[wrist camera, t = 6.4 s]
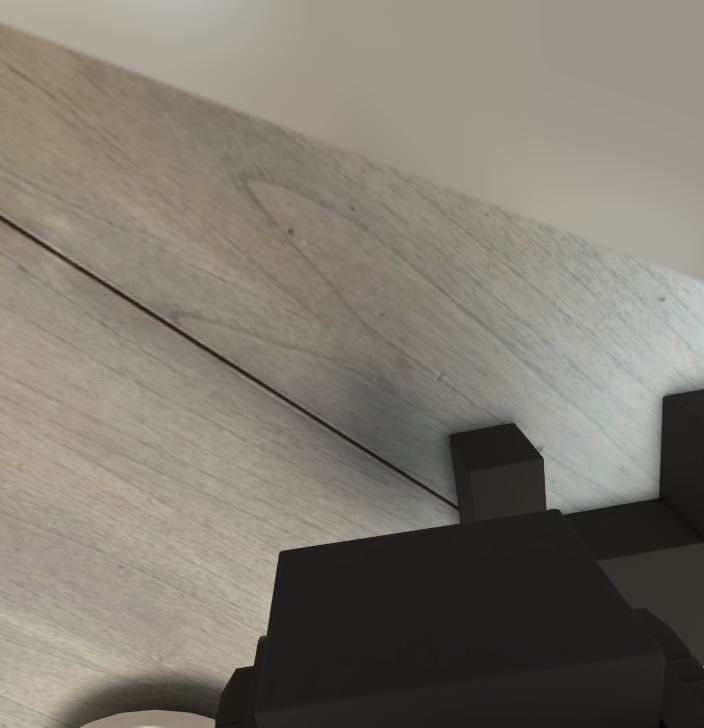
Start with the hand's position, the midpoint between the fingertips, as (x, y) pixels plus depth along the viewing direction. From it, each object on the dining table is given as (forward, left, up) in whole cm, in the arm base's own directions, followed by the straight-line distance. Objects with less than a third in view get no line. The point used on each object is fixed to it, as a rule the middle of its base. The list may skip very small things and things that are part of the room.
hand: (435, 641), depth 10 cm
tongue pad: (+3, 0, -1) cm, 3 cm away
